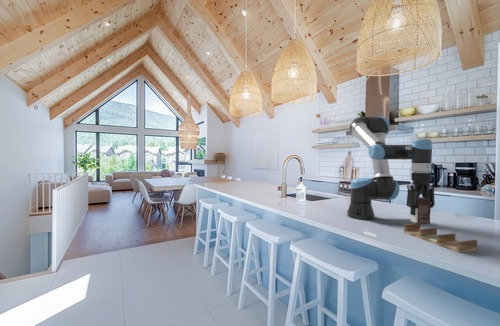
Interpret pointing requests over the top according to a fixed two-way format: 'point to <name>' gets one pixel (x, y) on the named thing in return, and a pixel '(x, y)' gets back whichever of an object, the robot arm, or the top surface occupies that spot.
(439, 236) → the wooden stepped piece
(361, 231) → the top surface
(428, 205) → the box
